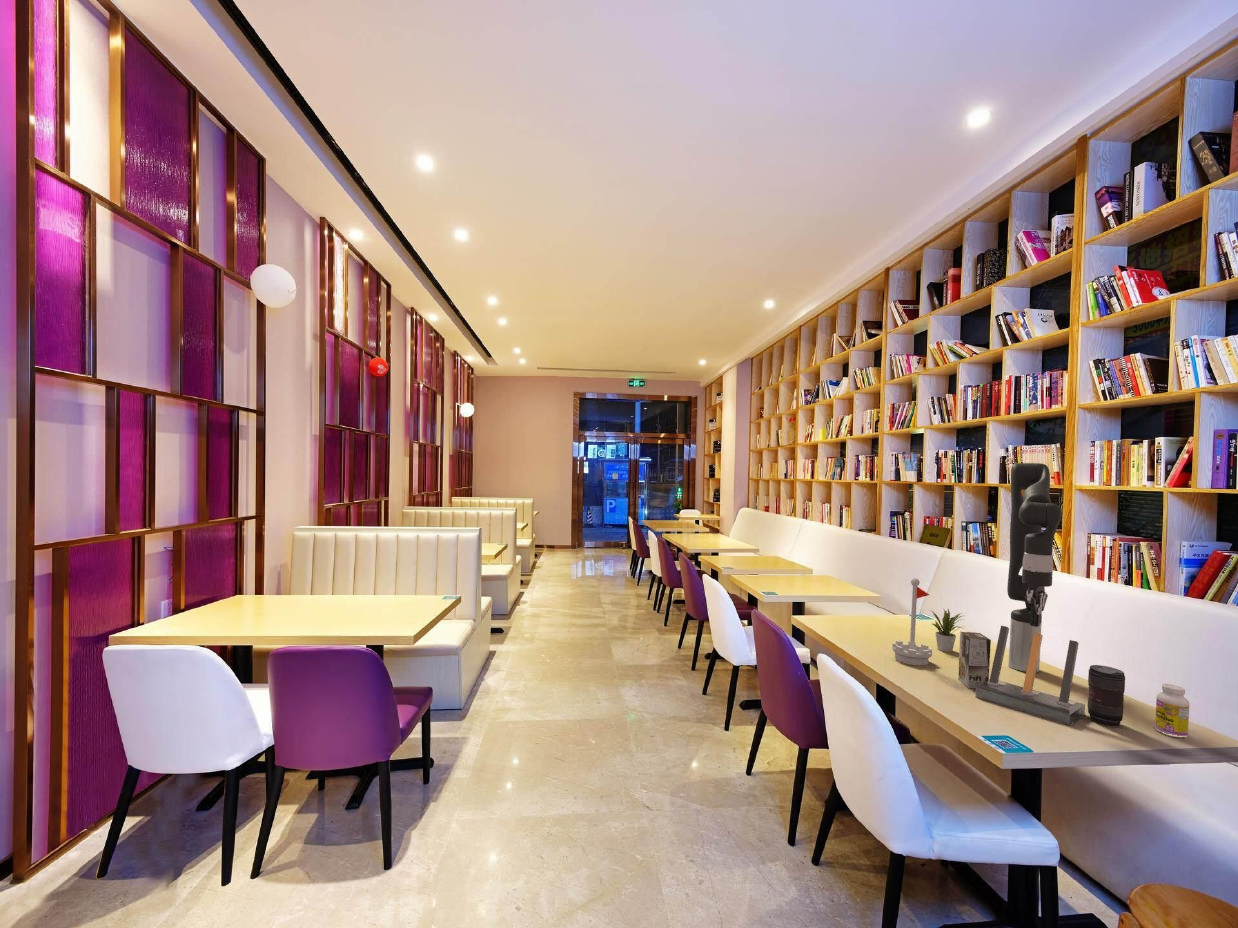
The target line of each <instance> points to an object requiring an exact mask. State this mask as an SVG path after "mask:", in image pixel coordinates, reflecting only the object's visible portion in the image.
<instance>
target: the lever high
mask: <svg viewBox="0 0 1238 928" xmlns="http://www.w3.org/2000/svg"><path fill="white" fill-rule="evenodd" d="M1078 649H1079V642H1078V641H1077V640H1072V639H1069V643H1068V647H1067V654H1066V657H1065V664H1064V665H1065V666H1064V670H1063V675H1062V681H1061V682H1062V683H1061V687H1060V692H1059V696H1058V697H1059V700H1057V705H1061V706H1064V707H1068V708H1069V707H1070V703H1068V702H1069V700H1070V697H1071V691H1072V690H1071V689H1072V686H1073V685H1072V684H1073V678H1074V672H1075V666H1076V661H1077V654H1078Z"/></svg>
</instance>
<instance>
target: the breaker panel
mask: <svg viewBox="0 0 1238 928" xmlns="http://www.w3.org/2000/svg"><path fill="white" fill-rule="evenodd" d="M998 683H999V687H998V688H997V687H993V686H990V685H988V684H987V682H986V683H984V684H982V685H978V687H976V689H975V698H976V699H977V698H978V699H981V700H984V701H987V702H990V703H994V704H997V705H1000V706H1004V707H1008V708H1010V709H1014V710H1016V711H1017V710H1018V711H1021V712H1024V713H1028V714H1030V715H1034V716H1038V717H1041V718H1044V719H1048V720H1050V721H1054V722H1058V723H1061V724H1064V725H1067V726H1071V725H1072V724H1074V723H1075V722H1077V721H1078V720H1079V719H1081V718H1082V717H1083V716H1085V714H1086V704H1085V703H1083V702H1078V701H1075V700H1071V699H1069V702H1068V703H1070V707H1069V708H1068V707H1064V706H1061V705H1057V700H1059V697H1060V696H1056V695H1053V694H1050V693H1046V692H1042V691H1038V690H1035V689H1032V693H1033V697H1029V696H1025V695H1022V694H1021V690H1023V687H1024V686H1020V685H1016V684H1013V683H1009V682H1007V681H1003V680H999V681H998Z"/></svg>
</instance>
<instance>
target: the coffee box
mask: <svg viewBox="0 0 1238 928" xmlns="http://www.w3.org/2000/svg"><path fill="white" fill-rule="evenodd" d="M991 642H992V639H990V638H989V637H987V636H985V635H984V634H982V632H981V633H980V632H972V631H960V632H959V654H958V680H959V681H960V682H961V683H962V684H963V685H964V686H965V687H966V688H968V689H975V690H976V687H978V685H982V684H984V683H986V682H988V680H990V663H991V662H990V661H991V644H992V643H991Z"/></svg>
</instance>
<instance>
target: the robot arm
mask: <svg viewBox="0 0 1238 928" xmlns="http://www.w3.org/2000/svg"><path fill="white" fill-rule="evenodd" d="M1050 488H1051V472H1050V468H1049V467H1048V465H1046V463H1035V462H1033V463H1032V462H1016V463H1013V464H1012V466H1011V469H1010V494H1011V495H1010V498H1011V501H1010V502H1011V503H1010V505H1011V506H1010V507H1011V508H1010V510H1011V513H1010V524H1009V525H1010V526H1009V563H1008V564H1009V566H1008V576H1007V588H1006V589H1007V595H1008V597H1009V599H1010V600H1014V601H1016V602H1017V601H1019V602H1024V604H1025V607H1024V608H1019V609H1013V610H1011V612H1010V628H1009V646H1008V650H1009V651H1008V667H1009V668H1011V669H1012V670H1016V671H1020V672H1024V673H1026V671H1027V666H1028V661H1029V656H1030V651H1031V646H1032V641H1033V636H1034V633H1039V634H1042V622H1043V621H1042V619H1043V618H1042V617H1043V614H1042V613H1043V612H1044V611H1045V606H1046V604H1047V600H1048V596H1049V595H1048V593H1047V592H1046V589H1045V588H1047V587H1052V586H1053V574H1054V573H1053V568H1054V561H1053V547H1054V539H1055V535H1056V531H1057V529H1058V527H1059V525H1060V522H1061V521H1062V516H1063V511H1062V509H1061V507H1060V506H1059V505H1058V504H1056V503H1052V499H1051V495H1050V491H1051V489H1050ZM1023 490H1024V492H1023V493H1022V491H1023ZM1042 527H1045V529H1044V530H1043V531H1042ZM1021 569H1022V570H1021ZM1020 572H1022V573H1021V575H1020V574H1019V573H1020ZM1040 663H1041V651H1040V652H1039V658H1038V663H1037V668H1036V673H1040Z"/></svg>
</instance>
